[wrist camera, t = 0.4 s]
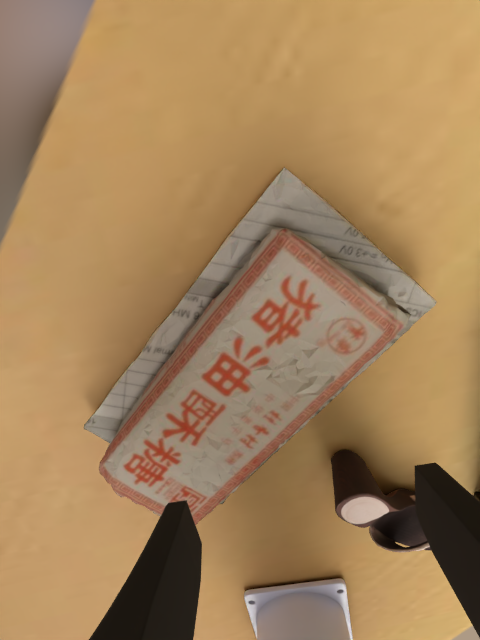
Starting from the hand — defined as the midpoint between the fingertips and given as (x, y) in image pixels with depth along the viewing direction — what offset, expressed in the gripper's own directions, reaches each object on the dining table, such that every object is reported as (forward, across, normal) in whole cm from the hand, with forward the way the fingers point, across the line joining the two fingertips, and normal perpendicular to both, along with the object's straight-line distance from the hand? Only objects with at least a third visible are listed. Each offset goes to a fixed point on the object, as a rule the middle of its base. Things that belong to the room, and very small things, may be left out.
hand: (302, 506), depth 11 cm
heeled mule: (+10, -6, +12) cm, 16 cm away
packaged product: (+10, +2, 0) cm, 10 cm away
